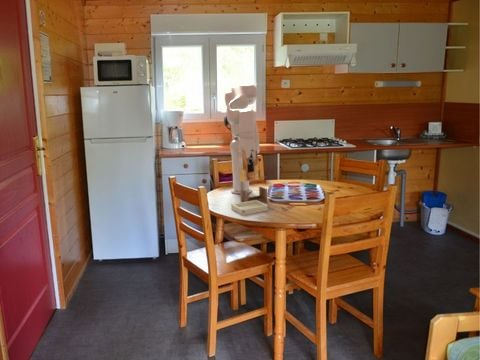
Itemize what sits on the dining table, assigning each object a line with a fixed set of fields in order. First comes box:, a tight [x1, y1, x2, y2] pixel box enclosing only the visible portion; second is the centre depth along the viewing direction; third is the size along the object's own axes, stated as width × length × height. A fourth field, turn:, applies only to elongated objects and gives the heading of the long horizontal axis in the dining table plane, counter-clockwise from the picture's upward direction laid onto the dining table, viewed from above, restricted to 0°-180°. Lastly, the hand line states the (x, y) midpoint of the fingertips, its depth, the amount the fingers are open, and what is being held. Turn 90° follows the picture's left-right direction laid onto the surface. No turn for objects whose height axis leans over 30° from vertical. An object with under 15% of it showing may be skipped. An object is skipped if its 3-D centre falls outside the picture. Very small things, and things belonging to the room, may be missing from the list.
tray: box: [230, 200, 270, 216], centre depth 223 cm, size 13×15×3 cm
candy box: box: [239, 150, 260, 182], centre depth 218 cm, size 9×4×15 cm, turn 119°
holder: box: [240, 186, 268, 203], centre depth 236 cm, size 7×13×7 cm, turn 117°
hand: (248, 170), depth 219 cm, fingers closed on candy box, 4 cm apart
